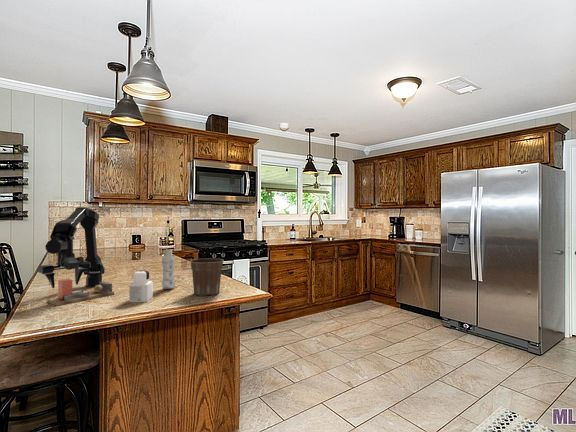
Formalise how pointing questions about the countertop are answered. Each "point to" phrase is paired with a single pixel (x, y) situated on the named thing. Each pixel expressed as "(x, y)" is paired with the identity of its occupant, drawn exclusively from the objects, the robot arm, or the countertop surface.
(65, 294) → the block
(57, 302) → the nutcracker base
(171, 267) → the plastic bottle
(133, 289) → the container
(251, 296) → the countertop surface
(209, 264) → the plant pot
